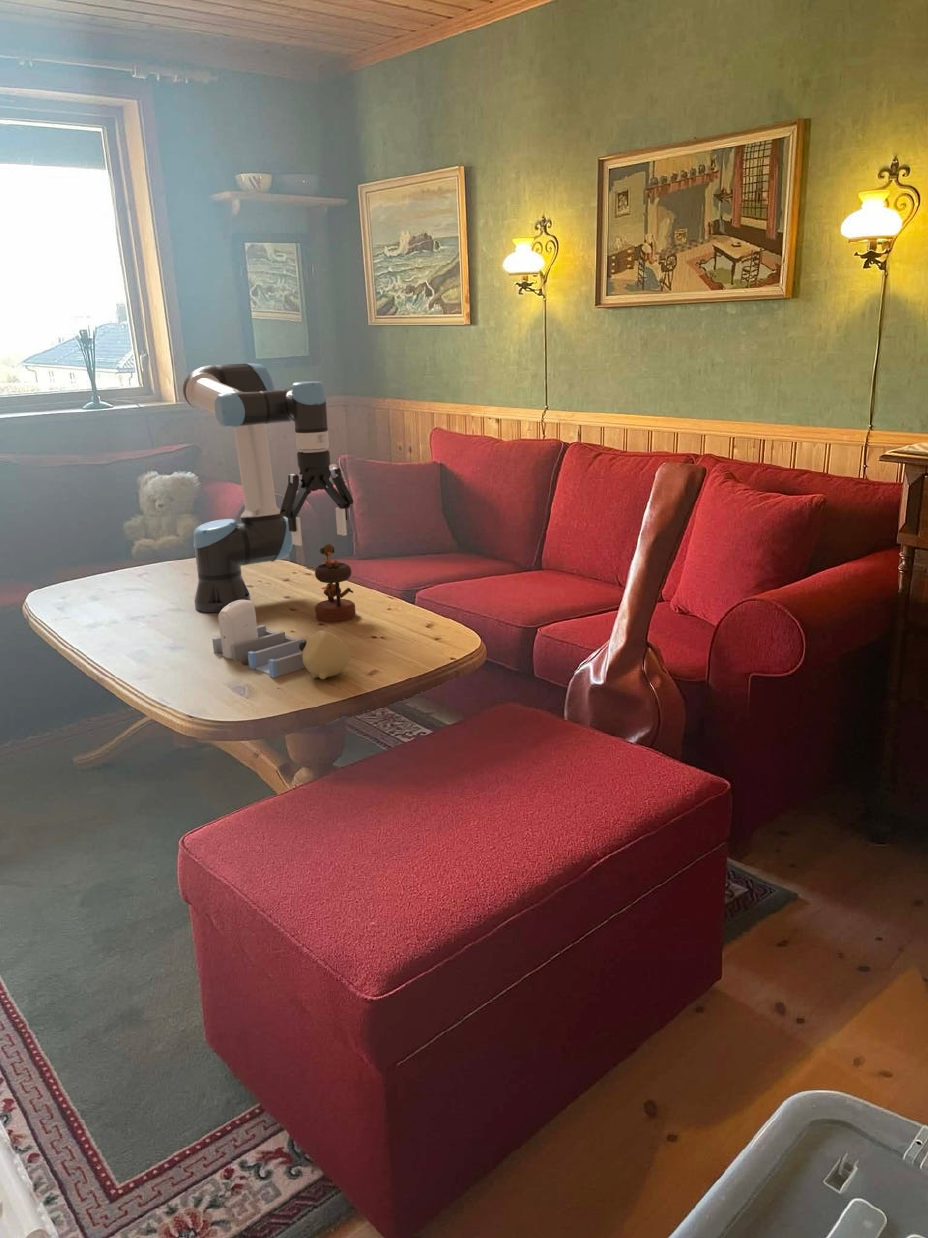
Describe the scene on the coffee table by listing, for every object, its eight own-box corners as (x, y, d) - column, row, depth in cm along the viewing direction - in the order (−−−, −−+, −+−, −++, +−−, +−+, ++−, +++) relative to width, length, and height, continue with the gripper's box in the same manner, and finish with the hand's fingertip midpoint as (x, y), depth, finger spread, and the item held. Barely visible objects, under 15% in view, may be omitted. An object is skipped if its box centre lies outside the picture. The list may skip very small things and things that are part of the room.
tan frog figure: (334, 664, 209) (331, 619, 206) (359, 679, 200) (355, 632, 196) (294, 673, 204) (289, 627, 201) (316, 689, 195) (312, 641, 191)
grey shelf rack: (211, 653, 220) (209, 637, 219) (268, 637, 230) (267, 622, 229) (273, 678, 202) (272, 661, 201) (332, 659, 212) (331, 643, 211)
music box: (303, 615, 247) (303, 541, 242) (340, 611, 254) (340, 538, 249) (332, 628, 235) (332, 550, 231) (369, 623, 242) (370, 546, 237)
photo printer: (235, 659, 215) (229, 608, 211) (220, 657, 216) (214, 606, 213) (261, 646, 224) (256, 596, 220) (247, 644, 225) (242, 595, 222)
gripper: (279, 457, 205) (287, 551, 212) (364, 445, 223) (369, 532, 229) (259, 455, 210) (267, 547, 217) (343, 443, 228) (349, 529, 234)
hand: (320, 539), depth 223 cm, fingers open, 13 cm apart
